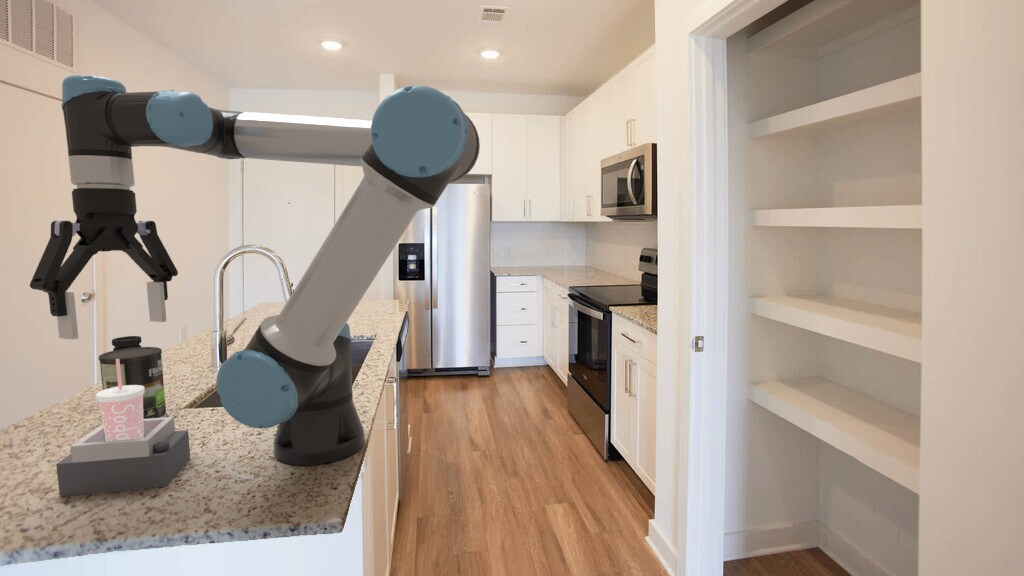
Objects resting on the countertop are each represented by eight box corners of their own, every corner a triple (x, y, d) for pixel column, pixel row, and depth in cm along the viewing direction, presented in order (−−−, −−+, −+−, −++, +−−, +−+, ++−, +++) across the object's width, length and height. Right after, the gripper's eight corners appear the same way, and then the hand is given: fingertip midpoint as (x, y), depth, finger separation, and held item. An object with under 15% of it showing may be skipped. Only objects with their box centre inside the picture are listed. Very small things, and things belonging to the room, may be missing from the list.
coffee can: (173, 409, 115) (168, 344, 114) (158, 426, 106) (152, 356, 104) (117, 414, 112) (110, 348, 111) (95, 432, 103) (88, 360, 101)
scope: (109, 345, 114) (99, 338, 121) (115, 408, 116) (105, 398, 122) (154, 339, 120) (142, 333, 127) (159, 399, 121) (147, 390, 128)
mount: (190, 458, 91) (186, 413, 90) (166, 486, 82) (162, 436, 81) (96, 466, 88) (91, 420, 87) (59, 496, 79) (54, 445, 78)
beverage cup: (93, 456, 80) (84, 365, 79) (111, 440, 86) (103, 355, 84) (140, 452, 82) (132, 362, 80) (155, 436, 88) (147, 353, 86)
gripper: (161, 192, 92) (171, 314, 95) (-17, 182, 69) (2, 345, 71) (195, 191, 90) (205, 316, 93) (23, 181, 67) (41, 349, 69)
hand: (117, 329), depth 82 cm, fingers open, 13 cm apart
